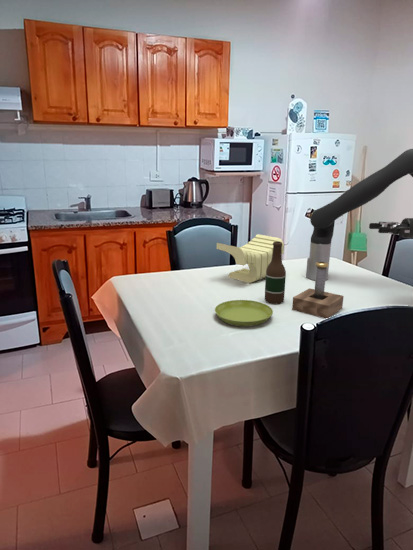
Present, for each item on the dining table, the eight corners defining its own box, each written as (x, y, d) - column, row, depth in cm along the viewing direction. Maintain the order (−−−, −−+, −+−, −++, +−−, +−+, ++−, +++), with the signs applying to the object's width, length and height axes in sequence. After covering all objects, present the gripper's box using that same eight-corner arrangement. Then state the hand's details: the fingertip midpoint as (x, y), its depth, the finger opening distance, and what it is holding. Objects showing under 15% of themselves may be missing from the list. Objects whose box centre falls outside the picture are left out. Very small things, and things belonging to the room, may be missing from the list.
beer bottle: (285, 299, 168) (289, 241, 161) (282, 305, 161) (286, 244, 154) (266, 296, 170) (269, 239, 163) (262, 303, 163) (265, 243, 156)
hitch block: (292, 309, 157) (293, 297, 155) (308, 300, 167) (309, 288, 166) (327, 319, 148) (328, 305, 147) (342, 308, 159) (343, 295, 157)
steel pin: (309, 309, 157) (313, 263, 152) (314, 305, 161) (318, 260, 156) (320, 312, 155) (325, 265, 149) (325, 308, 158) (330, 263, 153)
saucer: (230, 304, 163) (231, 296, 162) (280, 314, 153) (281, 306, 152) (204, 321, 145) (204, 313, 145) (258, 334, 136) (258, 325, 135)
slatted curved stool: (242, 288, 181) (244, 248, 175) (216, 280, 191) (216, 242, 186) (282, 274, 201) (284, 238, 196) (255, 268, 212) (257, 234, 207)
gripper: (408, 215, 163) (367, 215, 162) (428, 221, 149) (383, 221, 148) (405, 234, 165) (365, 234, 164) (424, 241, 151) (380, 241, 151)
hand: (374, 227), depth 156 cm, fingers open, 8 cm apart
